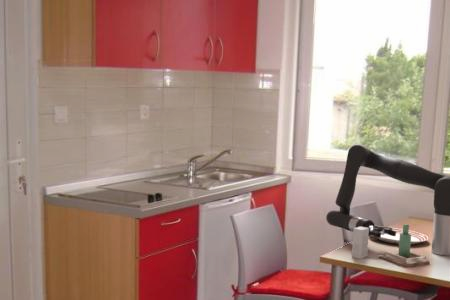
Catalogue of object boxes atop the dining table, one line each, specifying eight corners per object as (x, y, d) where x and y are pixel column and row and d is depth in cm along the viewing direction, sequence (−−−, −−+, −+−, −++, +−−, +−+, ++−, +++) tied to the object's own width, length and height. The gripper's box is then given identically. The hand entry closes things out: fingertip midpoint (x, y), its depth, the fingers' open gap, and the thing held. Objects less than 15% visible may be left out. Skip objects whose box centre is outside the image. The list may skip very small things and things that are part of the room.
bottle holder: (403, 255, 252) (404, 248, 252) (429, 264, 240) (430, 256, 240) (378, 258, 246) (379, 251, 245) (404, 267, 233) (404, 259, 233)
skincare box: (358, 254, 251) (359, 226, 250) (367, 256, 248) (369, 227, 247) (351, 256, 246) (353, 228, 245) (360, 258, 243) (362, 230, 242)
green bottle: (403, 256, 246) (406, 223, 245) (411, 259, 242) (414, 225, 241) (395, 257, 244) (398, 224, 243) (403, 260, 240) (406, 226, 239)
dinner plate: (420, 235, 294) (420, 229, 294) (434, 249, 267) (435, 242, 266) (363, 232, 296) (364, 225, 296) (372, 245, 269) (372, 237, 269)
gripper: (349, 219, 261) (375, 226, 247) (374, 217, 268) (400, 224, 254) (348, 235, 262) (374, 244, 248) (373, 233, 269) (399, 242, 254)
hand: (387, 234), depth 251 cm, fingers open, 8 cm apart
